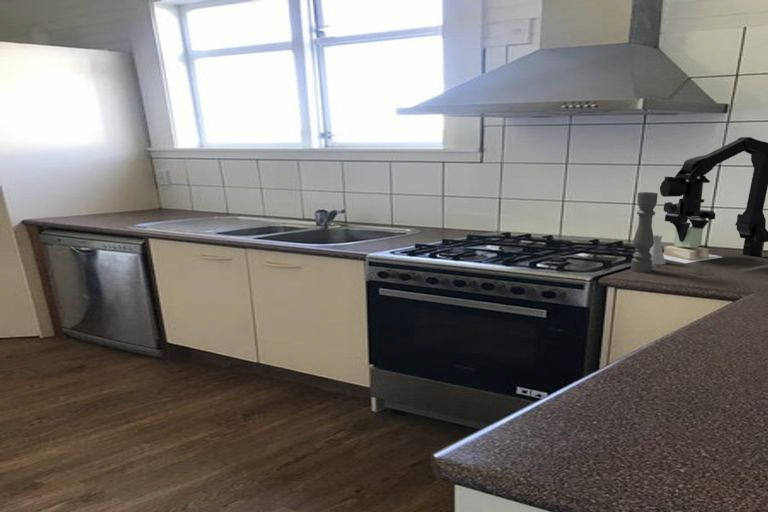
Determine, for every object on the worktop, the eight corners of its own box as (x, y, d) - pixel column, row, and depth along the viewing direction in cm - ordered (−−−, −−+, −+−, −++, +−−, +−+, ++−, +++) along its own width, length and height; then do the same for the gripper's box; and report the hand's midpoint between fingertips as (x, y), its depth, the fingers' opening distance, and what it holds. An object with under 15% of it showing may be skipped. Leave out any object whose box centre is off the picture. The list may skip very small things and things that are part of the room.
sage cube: (685, 242, 196) (686, 226, 195) (701, 245, 191) (702, 228, 189) (673, 244, 193) (675, 227, 192) (689, 247, 188) (691, 230, 187)
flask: (670, 267, 181) (673, 237, 179) (648, 267, 182) (651, 237, 180) (660, 262, 189) (662, 233, 186) (639, 262, 189) (641, 234, 187)
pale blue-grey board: (686, 252, 203) (686, 249, 203) (723, 259, 191) (723, 256, 191) (648, 258, 195) (648, 255, 195) (684, 266, 183) (684, 263, 183)
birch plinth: (682, 252, 199) (683, 244, 199) (708, 257, 191) (709, 248, 190) (663, 255, 195) (664, 246, 195) (689, 260, 186) (690, 251, 186)
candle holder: (655, 270, 177) (663, 193, 172) (643, 273, 174) (650, 194, 169) (638, 267, 182) (645, 191, 177) (626, 269, 179) (632, 192, 174)
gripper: (688, 192, 199) (684, 234, 203) (653, 195, 192) (649, 239, 195) (718, 195, 190) (713, 239, 193) (682, 198, 182) (677, 244, 185)
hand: (687, 240), depth 192 cm, fingers closed on sage cube, 6 cm apart
